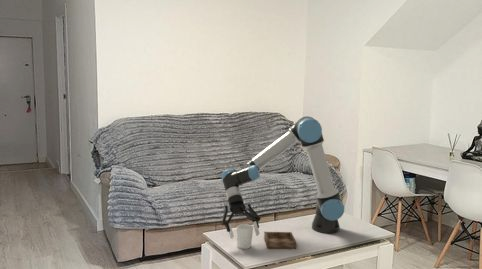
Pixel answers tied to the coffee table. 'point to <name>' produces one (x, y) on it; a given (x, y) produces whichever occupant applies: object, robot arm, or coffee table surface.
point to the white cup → (244, 235)
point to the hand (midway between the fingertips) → (245, 236)
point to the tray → (279, 240)
